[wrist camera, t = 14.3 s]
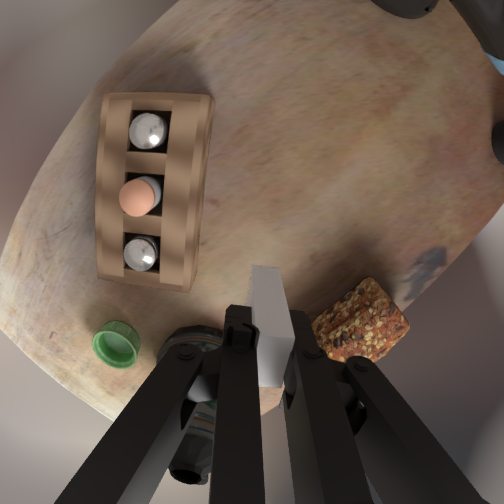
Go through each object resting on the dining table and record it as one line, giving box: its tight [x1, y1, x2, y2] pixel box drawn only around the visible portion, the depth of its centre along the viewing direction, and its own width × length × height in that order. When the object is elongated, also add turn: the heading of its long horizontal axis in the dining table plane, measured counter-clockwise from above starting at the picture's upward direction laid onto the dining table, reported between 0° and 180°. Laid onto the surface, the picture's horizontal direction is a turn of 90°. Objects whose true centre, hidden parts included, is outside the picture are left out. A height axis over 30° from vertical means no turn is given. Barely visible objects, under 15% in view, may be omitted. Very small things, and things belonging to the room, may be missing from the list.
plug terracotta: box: [119, 174, 164, 217], centre depth 37 cm, size 4×4×6 cm
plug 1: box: [129, 113, 171, 149], centre depth 36 cm, size 4×4×6 cm
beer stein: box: [156, 325, 223, 485], centre depth 43 cm, size 16×19×25 cm
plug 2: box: [124, 234, 161, 271], centre depth 41 cm, size 4×4×6 cm
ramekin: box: [92, 321, 140, 369], centre depth 51 cm, size 9×9×4 cm
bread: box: [311, 277, 410, 363], centre depth 48 cm, size 19×11×10 cm, turn 134°
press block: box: [95, 92, 215, 293], centre depth 40 cm, size 26×14×7 cm, turn 172°
